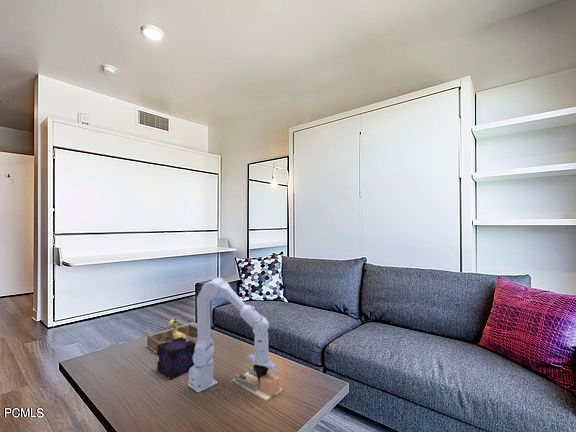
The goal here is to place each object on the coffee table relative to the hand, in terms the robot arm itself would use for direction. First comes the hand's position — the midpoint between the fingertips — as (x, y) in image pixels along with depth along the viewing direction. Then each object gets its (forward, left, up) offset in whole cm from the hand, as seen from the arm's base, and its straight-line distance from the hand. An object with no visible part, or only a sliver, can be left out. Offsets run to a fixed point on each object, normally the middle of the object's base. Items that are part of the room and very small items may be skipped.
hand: (261, 382), depth 121 cm
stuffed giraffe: (-2, +64, -2) cm, 64 cm away
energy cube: (-16, +40, -2) cm, 43 cm away
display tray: (-2, +64, -2) cm, 64 cm away
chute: (0, +3, -2) cm, 3 cm away
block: (0, -5, -2) cm, 5 cm away
